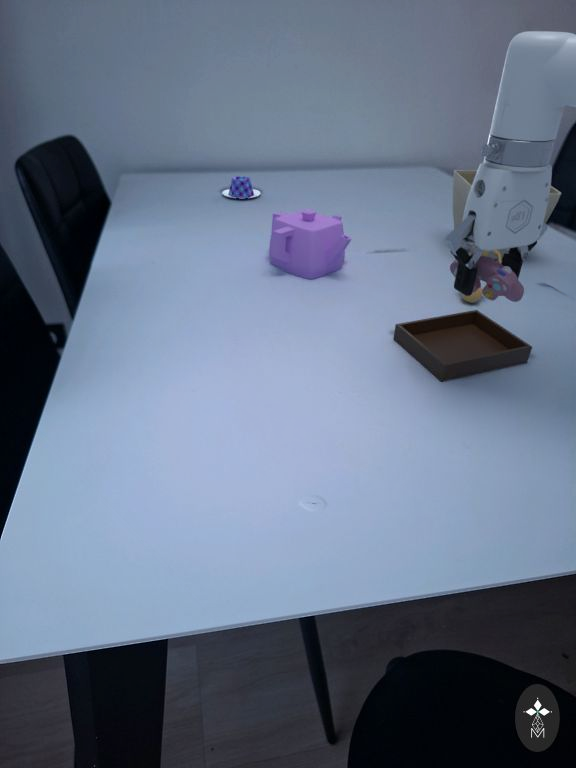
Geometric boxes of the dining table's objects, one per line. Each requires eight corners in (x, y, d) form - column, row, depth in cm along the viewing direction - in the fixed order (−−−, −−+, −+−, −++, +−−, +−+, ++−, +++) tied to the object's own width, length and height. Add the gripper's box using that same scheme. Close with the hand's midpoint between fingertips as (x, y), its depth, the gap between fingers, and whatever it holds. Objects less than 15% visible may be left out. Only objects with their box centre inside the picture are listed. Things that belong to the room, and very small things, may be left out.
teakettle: (269, 251, 127) (269, 198, 120) (340, 252, 128) (344, 200, 121) (268, 280, 113) (269, 222, 106) (348, 281, 114) (353, 224, 107)
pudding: (220, 190, 171) (220, 173, 168) (257, 190, 173) (257, 173, 170) (223, 201, 161) (223, 183, 158) (263, 200, 163) (263, 182, 160)
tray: (473, 324, 99) (476, 309, 97) (527, 362, 88) (532, 346, 86) (393, 339, 93) (395, 323, 92) (440, 381, 83) (444, 365, 81)
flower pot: (540, 266, 124) (563, 192, 114) (459, 264, 123) (476, 190, 114) (511, 239, 140) (530, 171, 130) (439, 237, 139) (452, 169, 130)
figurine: (446, 300, 107) (459, 242, 100) (453, 290, 111) (466, 233, 105) (489, 310, 104) (504, 251, 97) (494, 299, 108) (510, 241, 102)
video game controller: (448, 294, 79) (443, 258, 74) (467, 274, 80) (463, 238, 75) (508, 318, 73) (507, 281, 68) (527, 297, 74) (528, 259, 69)
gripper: (481, 163, 59) (450, 308, 69) (595, 154, 65) (551, 289, 75) (440, 150, 65) (417, 286, 75) (548, 143, 71) (513, 270, 81)
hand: (484, 287), depth 75 cm, fingers closed on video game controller, 7 cm apart
